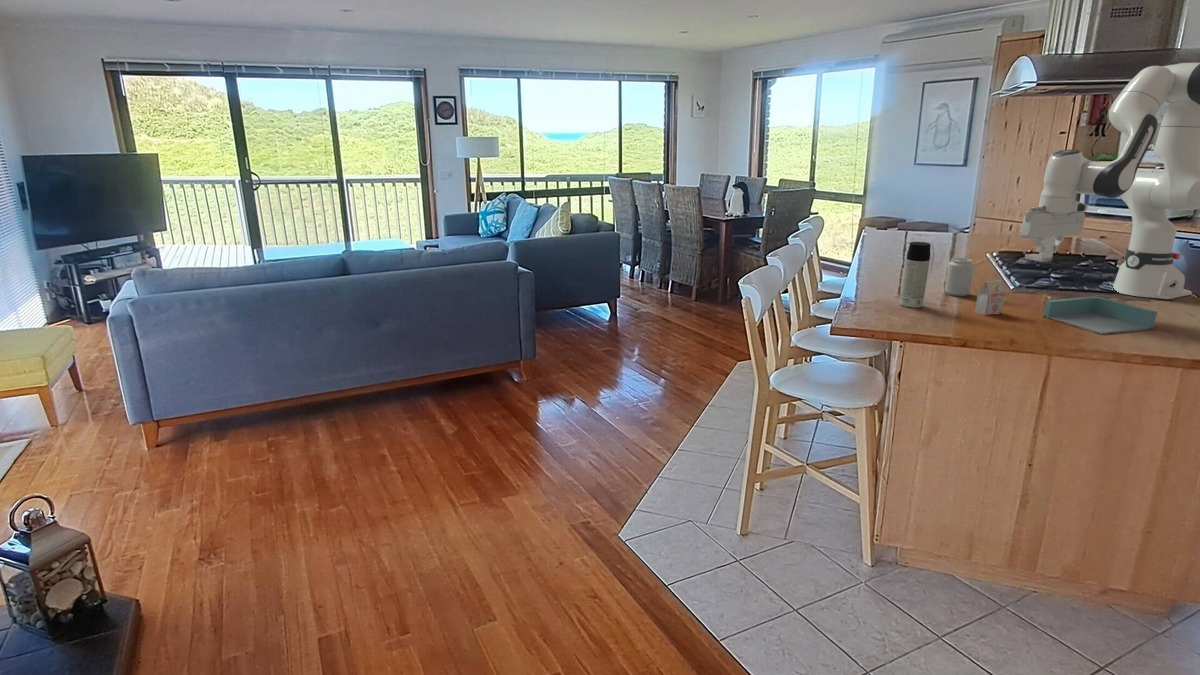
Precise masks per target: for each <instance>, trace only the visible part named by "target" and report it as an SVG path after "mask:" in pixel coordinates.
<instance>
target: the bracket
mask: <svg viewBox="0 0 1200 675" xmlns="http://www.w3.org/2000/svg"><path fill="white" fill-rule="evenodd" d="M1055 241H1056V238H1055V237H1044V241H1042V243H1043V246H1045V249H1044V252H1038V253H1027V254H1026V253H1025V255H1024V259H1026V260H1031V261H1036V262H1040V263H1043V262H1052V260H1053V257H1054V256H1053V255H1054V252H1055V251H1054V246H1055Z"/></svg>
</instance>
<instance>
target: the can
mask: <svg viewBox="0 0 1200 675" xmlns="http://www.w3.org/2000/svg"><path fill="white" fill-rule="evenodd" d="M974 267H975V265H974V263H973V259H970V258H964V257H963V258H962V257H956V258H955V257H954V258H951V261H950V262H948V266H947V272H946V278H945V283H944V284H945V286H944V292H945V294H947V295H949V296H952V297H966V296H968V295H969V294H971V286H972V279H973V275H974V274H973V273H974V269H975V268H974Z"/></svg>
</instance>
